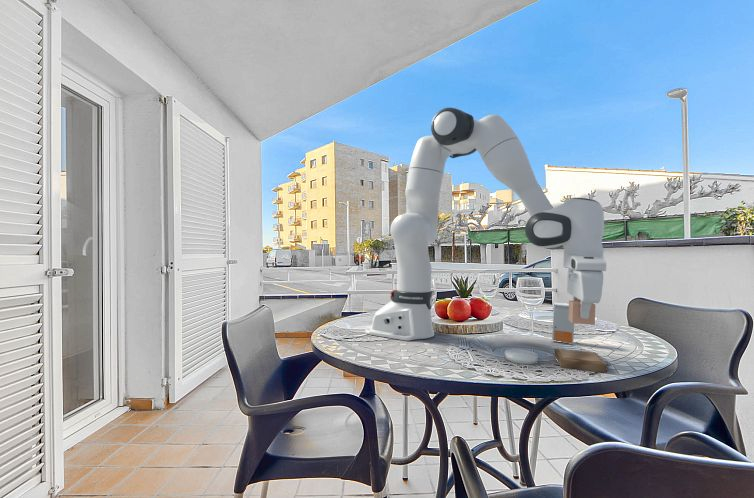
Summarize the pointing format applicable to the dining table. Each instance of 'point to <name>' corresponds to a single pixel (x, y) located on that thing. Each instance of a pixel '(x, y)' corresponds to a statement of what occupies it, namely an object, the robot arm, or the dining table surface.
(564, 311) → the skincare box
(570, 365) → the walnut coaster
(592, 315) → the terracotta cube
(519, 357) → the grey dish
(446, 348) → the dining table surface
